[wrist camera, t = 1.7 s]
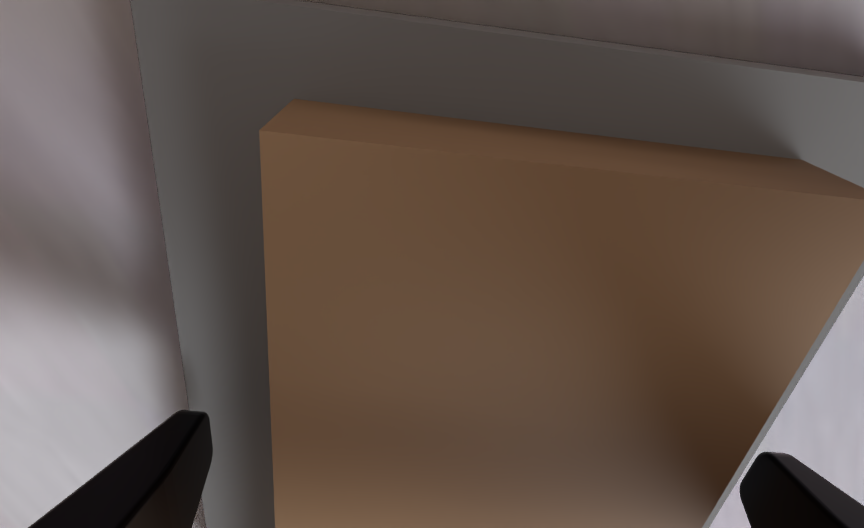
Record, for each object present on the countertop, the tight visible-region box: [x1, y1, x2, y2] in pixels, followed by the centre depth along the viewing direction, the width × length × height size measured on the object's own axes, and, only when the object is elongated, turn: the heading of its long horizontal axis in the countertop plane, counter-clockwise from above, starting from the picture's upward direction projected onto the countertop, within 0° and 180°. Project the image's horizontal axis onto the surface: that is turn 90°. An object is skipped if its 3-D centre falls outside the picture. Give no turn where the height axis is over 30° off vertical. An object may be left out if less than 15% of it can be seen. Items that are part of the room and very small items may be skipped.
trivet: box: [130, 0, 864, 528], centre depth 9 cm, size 12×10×1 cm
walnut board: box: [259, 99, 864, 528], centre depth 8 cm, size 10×6×2 cm, turn 173°
